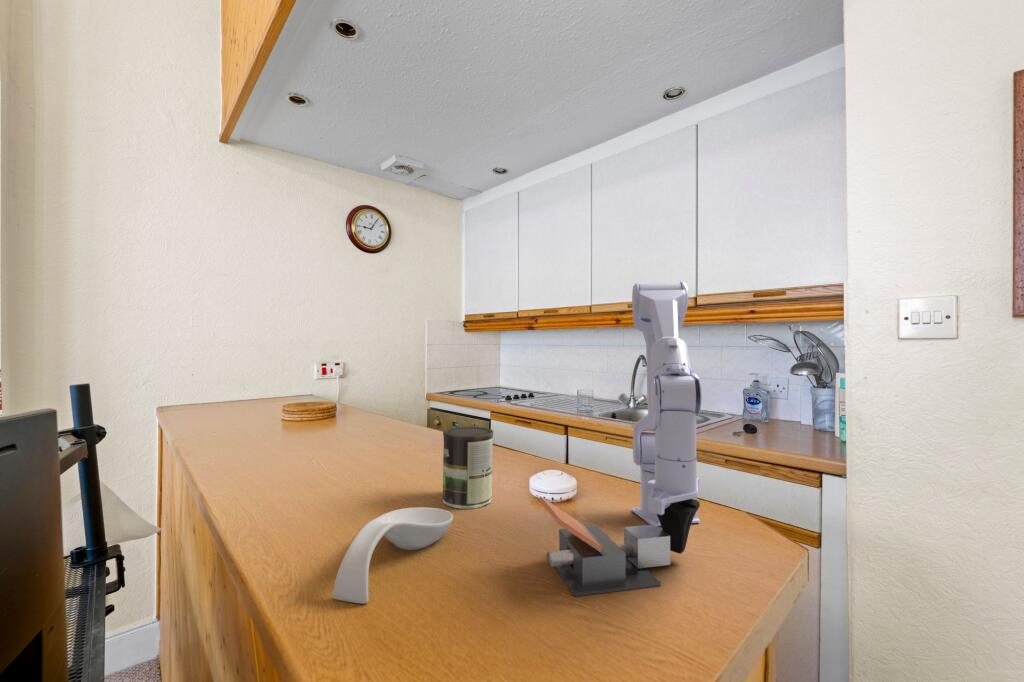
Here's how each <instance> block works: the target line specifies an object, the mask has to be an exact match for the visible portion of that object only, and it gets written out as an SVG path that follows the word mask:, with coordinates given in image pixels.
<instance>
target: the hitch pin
mask: <svg viewBox="0 0 1024 682" xmlns="http://www.w3.org/2000/svg"><path fill="white" fill-rule="evenodd" d="M616 545H617V546H618V547H619V548H620V549H621V550H622V551H623V552H624V553H626V558H628V559H629V560H630V561H631V562H632V563H633V564H634V565H635V566H636V567H637V568H646V569H648V568H655V567H663V566H670V565H671V551H670V535H668V534H667V533H665V532H664V531H663V530H662V528H660V526H656V525H650V524H647V525H646V524H645V525H635V526H633V525H632V526H624V527H623V544H616ZM548 552H549V557H548V563H549V566H550V567H555V566H561V565H571V564H573V552H572V550H562V551H559V550H556V551H555V550H552V551H548Z"/></svg>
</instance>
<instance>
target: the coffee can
mask: <svg viewBox="0 0 1024 682" xmlns="http://www.w3.org/2000/svg"><path fill="white" fill-rule="evenodd" d="M442 437H443V453H442V454H443V457H442V459H443V460H442V462H443V463H442V499H441V501H443V502H442V504H443V503H444V505H445V504H446V505H447V506H446V505H445V506H446V507H448V506H450V507H449V508H452V507H453V508H452V509H456V508H459V509H460V510H472V509H471V508H475V509H479V508H478V507H480V508H483V507H482V506H484V505H486V504H488V503H490V502H492V501H493V496H492V495H493V491H492V489H493V442H494V441H493V440H494V439H493V438H494V430H493V429H491V428H487V427H481V426H460V427H452V428H448V429H444V430H443V433H442ZM491 500H492V501H491ZM490 504H491V503H490ZM488 505H489V504H488ZM486 506H487V505H486ZM484 507H485V506H484ZM459 509H458V510H459Z"/></svg>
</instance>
